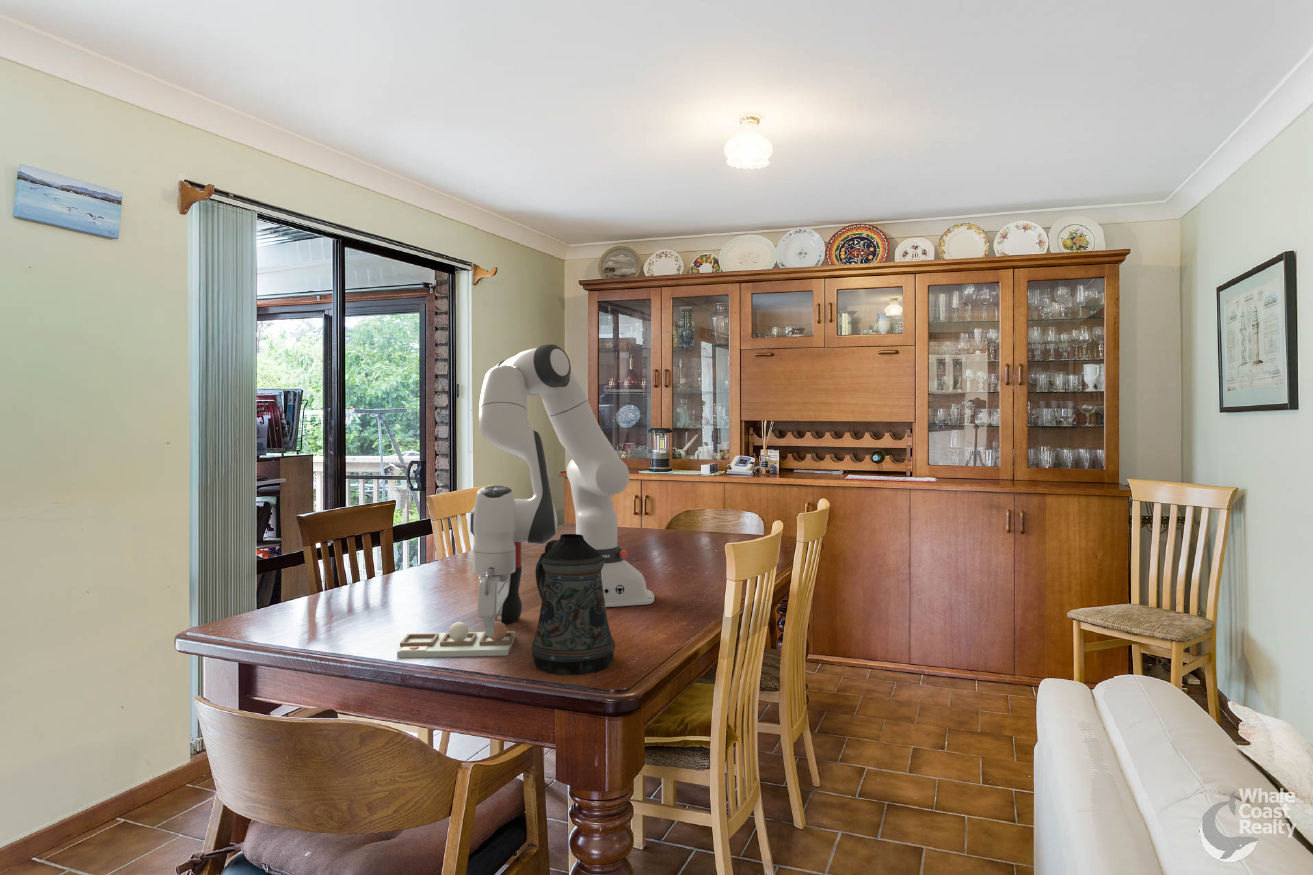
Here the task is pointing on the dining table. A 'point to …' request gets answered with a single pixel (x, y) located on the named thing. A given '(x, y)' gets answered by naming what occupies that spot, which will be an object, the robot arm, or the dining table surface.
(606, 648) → the beer stein
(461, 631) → the cream ball
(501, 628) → the terracotta ball
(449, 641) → the board
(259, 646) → the dining table surface
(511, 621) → the cola bottle
